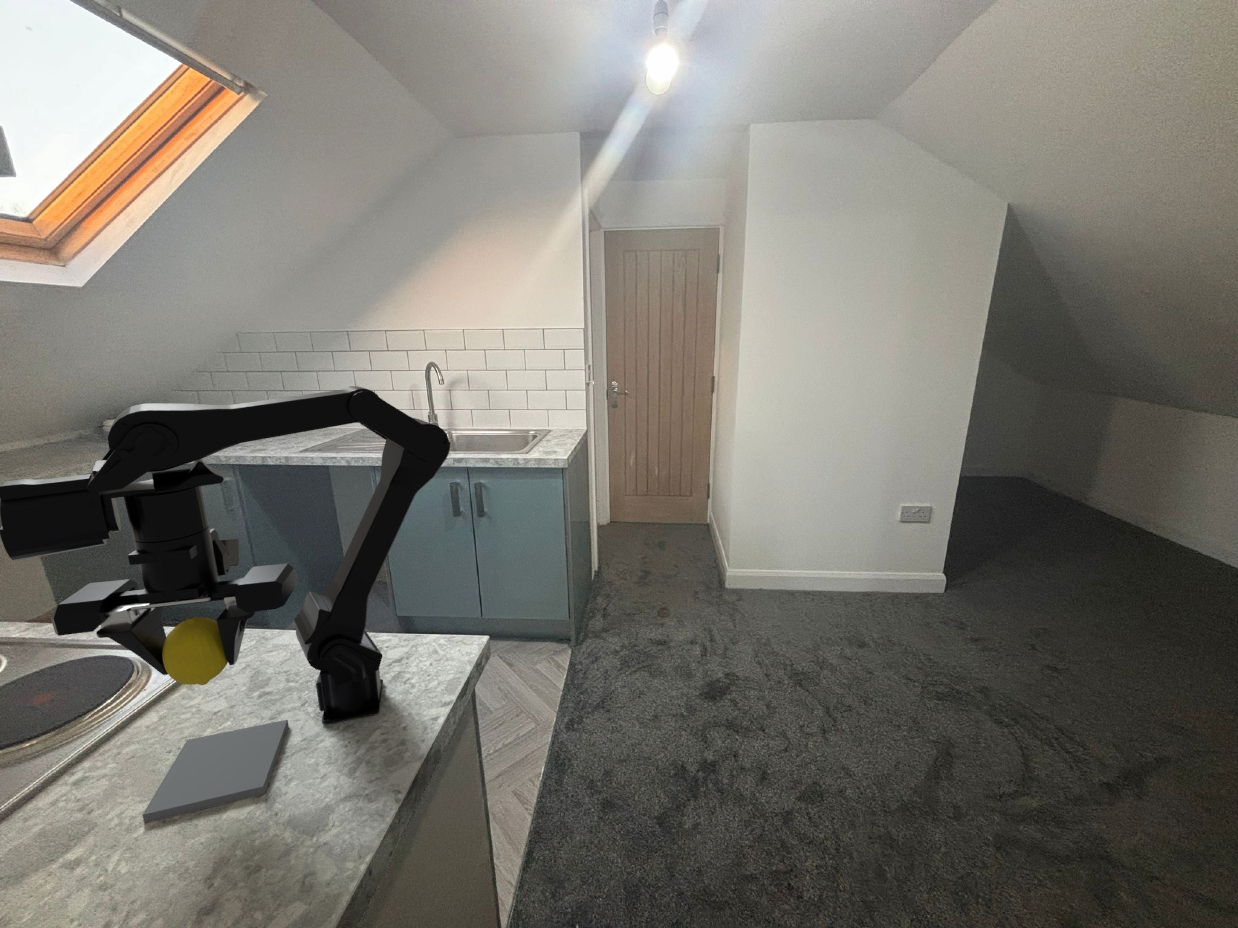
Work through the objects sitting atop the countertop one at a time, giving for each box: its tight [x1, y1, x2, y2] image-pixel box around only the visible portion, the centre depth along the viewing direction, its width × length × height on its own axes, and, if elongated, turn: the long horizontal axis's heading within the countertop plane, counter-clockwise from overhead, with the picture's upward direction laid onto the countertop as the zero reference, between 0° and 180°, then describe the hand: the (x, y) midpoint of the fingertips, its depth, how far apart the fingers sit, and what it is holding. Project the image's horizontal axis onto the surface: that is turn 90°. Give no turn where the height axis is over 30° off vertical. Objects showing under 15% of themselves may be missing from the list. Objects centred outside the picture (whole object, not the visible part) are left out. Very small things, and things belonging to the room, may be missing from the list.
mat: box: [142, 719, 289, 824], centre depth 55 cm, size 10×10×1 cm
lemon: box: [162, 616, 229, 686], centre depth 54 cm, size 6×6×8 cm
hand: (201, 667), depth 54 cm, fingers closed on lemon, 5 cm apart
